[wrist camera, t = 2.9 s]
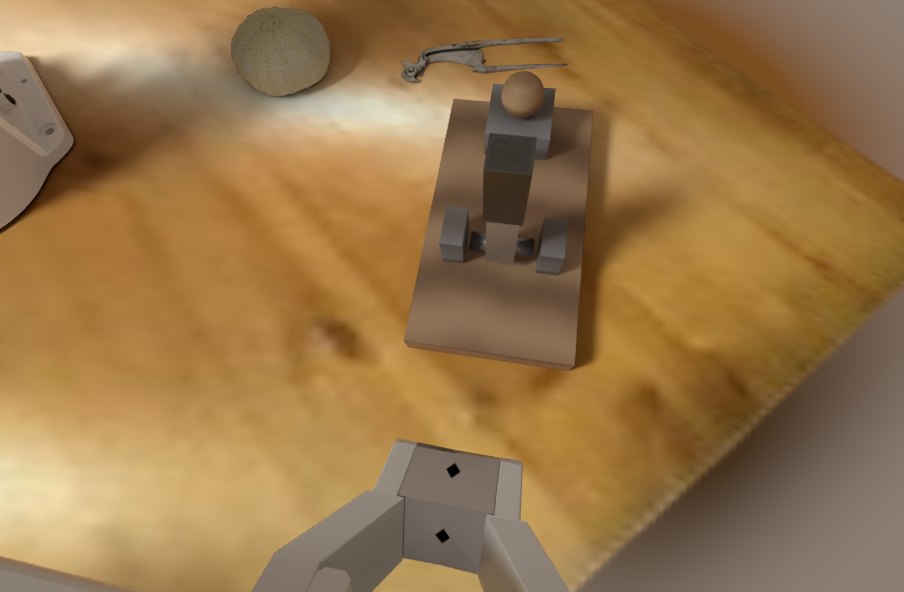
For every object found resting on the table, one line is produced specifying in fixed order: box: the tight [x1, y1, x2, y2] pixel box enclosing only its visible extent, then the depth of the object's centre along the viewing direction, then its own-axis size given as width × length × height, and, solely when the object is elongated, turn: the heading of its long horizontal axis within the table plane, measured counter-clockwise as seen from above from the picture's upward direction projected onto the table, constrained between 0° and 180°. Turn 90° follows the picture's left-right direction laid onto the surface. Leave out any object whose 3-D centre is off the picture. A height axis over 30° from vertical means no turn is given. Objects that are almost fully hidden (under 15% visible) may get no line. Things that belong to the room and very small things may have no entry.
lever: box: [469, 133, 537, 264], centre depth 27 cm, size 2×5×12 cm, turn 81°
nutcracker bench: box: [404, 71, 593, 371], centre depth 32 cm, size 22×12×8 cm, turn 171°
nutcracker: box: [401, 38, 568, 82], centre depth 42 cm, size 16×1×5 cm
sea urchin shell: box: [231, 7, 331, 96], centre depth 42 cm, size 9×8×8 cm
